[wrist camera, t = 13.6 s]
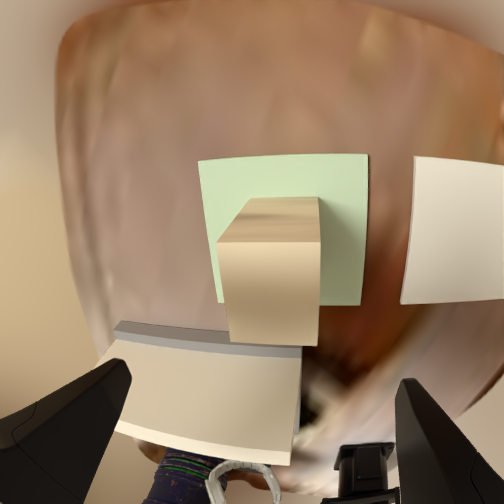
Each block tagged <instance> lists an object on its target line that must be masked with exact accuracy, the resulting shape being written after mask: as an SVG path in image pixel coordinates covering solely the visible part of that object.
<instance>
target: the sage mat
mask: <svg viewBox="0 0 504 504" xmlns="http://www.w3.org/2000/svg"><path fill="white" fill-rule="evenodd" d="M198 166H199V175H200V182H201V190H202V198H203V205H204V213H205V220H206V227H207V234H208V241H209V247H210V254H211V260H212V267H213V273H214V280H215V286H216V292H217V298H218V303H224V297H223V290H222V283H221V276H220V269H219V262H218V255H217V248H216V242H217V240H218V239H219V238H220V236H221V235H222V234H223V232H224V231H225V230H226V229H227V227H228V226H229V225H230V223H231V222H232V221H233V220H234V218H235V217H236V216H237V214H238V213H239V212H240V211H241V209H242V208H243V207H244V205H245V204H246V203H247V202H248V200H249V199H250V198H262V197H318V206H319V222H320V241H321V251H320V296H319V305H360V302H361V293H362V283H363V272H364V260H365V246H366V228H367V200H368V154H352V153H320V154H283V155H262V156H246V157H233V158H221V159H210V160H200V161H198Z"/></svg>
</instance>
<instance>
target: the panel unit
mask: <svg viewBox="0 0 504 504" xmlns="http://www.w3.org/2000/svg"><path fill="white" fill-rule="evenodd" d="M113 332H114V334H115V337H116V340H115V341H114V343H113V344H112V345H111V346H110V348H109V349H108V350H107V352H106V353H105V354H104V355H103V357H102V358H101V359H100V360H99V362H98V363H97V364H96V366H95V367H94V368H93V369H95V368H96V367H98V366H100V365H102V364H103V363H105V362H107V361H109V360H110V359H112V358H119V359H123V360H124V361H125V362H126V364H127V366H128V368H129V370H130V372H131V375H132V383H131V386H130V389H129V392H128V395H127V398H126V401H125V404H124V407H123V410H122V413H121V415H120V418H119V420H118V423H117V425H116V427H115V429H114V431H117V432H120V433H123V434H126V435H129V436H132V437H135V438H139V439H142V440H145V441H149V442H152V443H156V444H159V445H163V446H167V447H171V448H175V449H179V450H183V451H188V452H192V453H197V454H202V455H207V456H213V457H218V458H224V459H231V460H237V461H245V462H253V463H262V464H273V465H286V466H290V460H291V453H292V446H293V438H294V434H298V433H299V425H300V407H301V382H302V346H299V345H273V344H254V343H239V342H231V341H230V335H229V332H224V331H211V330H199V329H188V328H178V327H168V326H159V325H151V324H142V323H135V322H127V321H120V322H119V324H118V325H117V326H116V327H115V328H114V330H113ZM93 369H92V370H93Z"/></svg>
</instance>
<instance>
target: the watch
mask: <svg viewBox="0 0 504 504" xmlns="http://www.w3.org/2000/svg"><path fill="white" fill-rule="evenodd" d="M232 468H233V469H236V470H241V471H247V472H254V473H261V474H263V475H264V478H265V480H266V482H267V483H268V485H269V487H270V490H271V493H272V497H273V504H279V501H280V500H281V490H280V486H279V483H278V480H277V478H276V476H275V474H274V473H273V471H272V470H271V464H262V463H253V462H245V461H237V460H228V461H225V462H223V463H221V464H219V465H218V466H217V467H216V468H214V469H213V470H212V471H211V472H210V475H209V480H205V485H206V488H207V492H208V495H209V498H210V500H211V503H212V504H228V503H227V501H226V498H225V495H224V492H223V489H222V487H221V484H220V482H219V480H218V478H219V476H221V475H222V474H223V473H225V471H226V472H227V471H229V470H232Z"/></svg>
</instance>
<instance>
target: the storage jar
mask: <svg viewBox="0 0 504 504" xmlns="http://www.w3.org/2000/svg"><path fill="white" fill-rule="evenodd" d="M223 462H225V460H224V459H222V458H218V457H213V456H207V455H202V454H197V453H192V452H188V451H183V450H179V449H175V448H171V447H168V448H167V450H166V455H164V457H163V459H162V460H161V461H160V463H159V466H158V470H157V471H156V472H155V476H154V479H155V481H154V483H153V486H152V488H151V490H150V492H149V494H148V497H147V499H144V501H143V503H142V504H212V503H211V500H210V498H209V495H208V492H207V488H206V485H205V480H209V475H210V472H211V471H212V470H213V469H214V468H216V467H217V466H218V465H219V464H221V463H223ZM229 473H230V470H229V471H227V472H226V471H225V473H223V474H222V475H221V476H219V478H218V480H219V482H220V484H221V487H222V489H223V492H224V491H225V490H226V487H227V480H228V474H229Z"/></svg>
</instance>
